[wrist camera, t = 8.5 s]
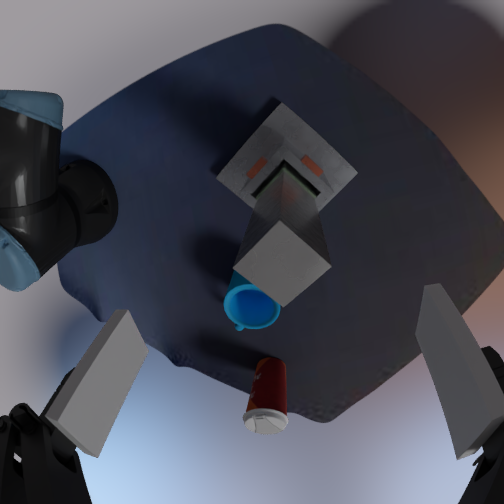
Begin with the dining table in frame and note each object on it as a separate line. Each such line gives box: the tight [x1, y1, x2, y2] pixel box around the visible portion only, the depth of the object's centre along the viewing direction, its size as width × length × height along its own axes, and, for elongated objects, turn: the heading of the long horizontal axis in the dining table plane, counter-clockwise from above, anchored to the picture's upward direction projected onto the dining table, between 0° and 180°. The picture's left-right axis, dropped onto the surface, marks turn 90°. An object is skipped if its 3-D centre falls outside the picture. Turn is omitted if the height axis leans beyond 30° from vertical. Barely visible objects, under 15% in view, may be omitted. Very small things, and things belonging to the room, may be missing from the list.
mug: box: [224, 270, 281, 331], centre depth 46 cm, size 12×8×8 cm
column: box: [233, 161, 332, 307], centre depth 25 cm, size 4×4×19 cm
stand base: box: [216, 103, 357, 212], centre depth 35 cm, size 14×14×12 cm
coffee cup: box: [243, 357, 288, 434], centre depth 52 cm, size 8×8×15 cm
